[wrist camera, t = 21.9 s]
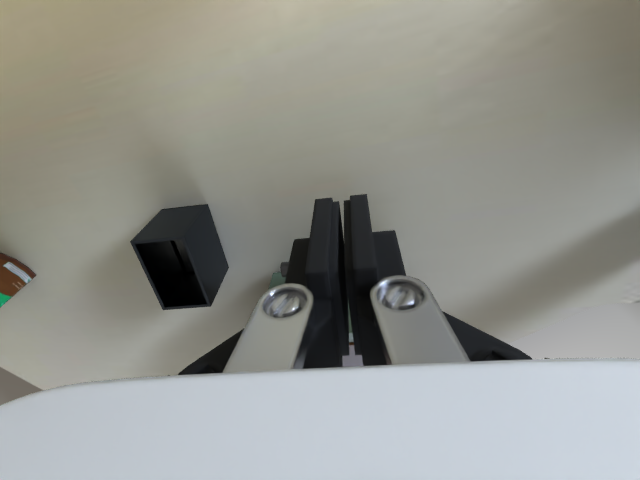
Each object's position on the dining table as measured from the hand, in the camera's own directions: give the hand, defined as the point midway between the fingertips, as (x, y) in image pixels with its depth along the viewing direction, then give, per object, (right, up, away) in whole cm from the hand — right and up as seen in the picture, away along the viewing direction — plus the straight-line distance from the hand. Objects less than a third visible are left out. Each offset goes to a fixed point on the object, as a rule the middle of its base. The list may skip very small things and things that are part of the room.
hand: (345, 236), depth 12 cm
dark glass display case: (-14, 0, +27) cm, 30 cm away
